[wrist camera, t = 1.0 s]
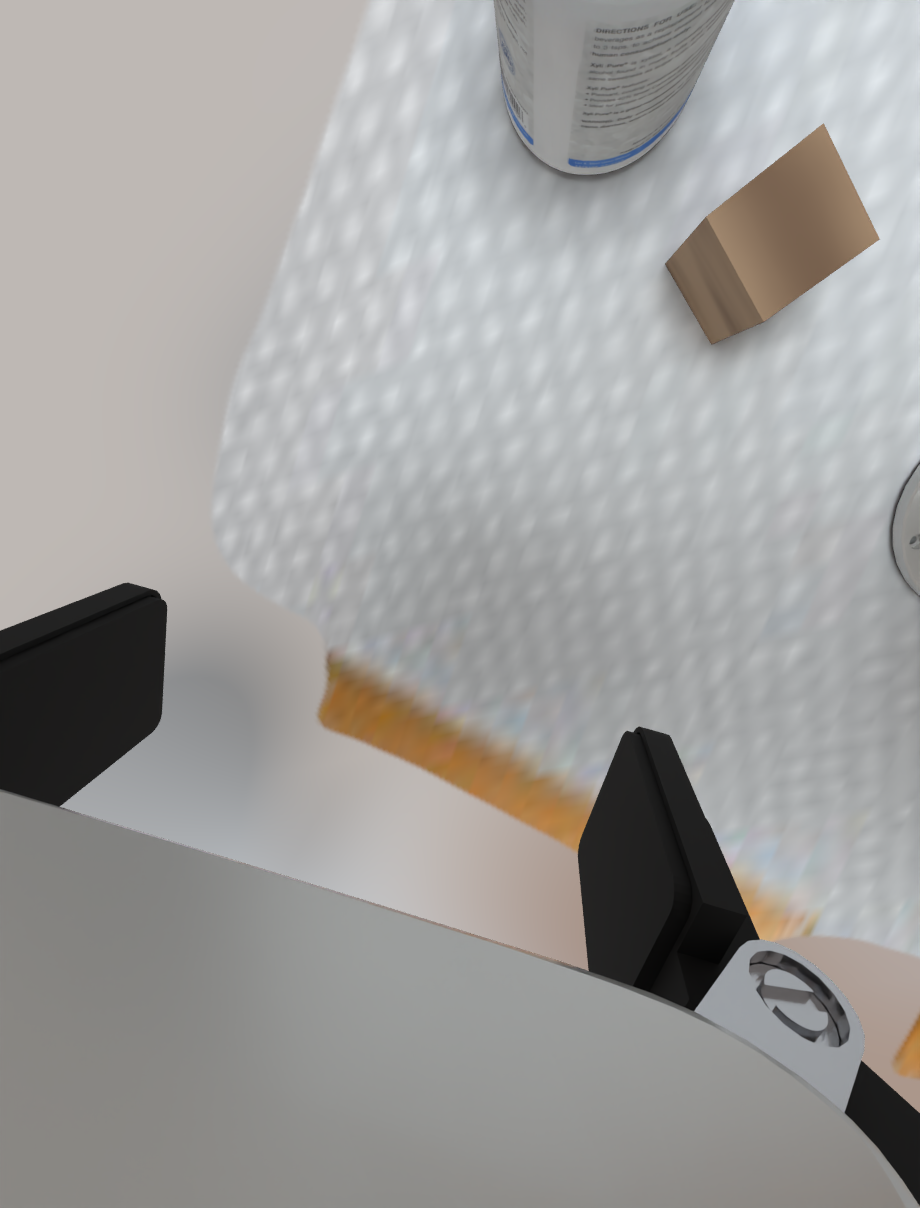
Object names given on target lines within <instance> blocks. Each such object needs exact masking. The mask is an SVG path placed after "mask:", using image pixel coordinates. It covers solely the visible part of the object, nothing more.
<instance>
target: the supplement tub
mask: <svg viewBox="0 0 920 1208" xmlns="http://www.w3.org/2000/svg"><path fill="white" fill-rule="evenodd" d="M733 2H734V0H494V7H495V17H496V27H497V37H498V46H499V57H500V67H501V77H502V88H503V95H504V100H505V103H506V107H507V110H508V113H509V116H510V118H511V121H512V123H513V125H514V127H515V129H516V131H517V133H518V135H519V136H520V138H521V139H522V141H523V142H524V143H525V145H526V146H527V147H528V148H529V149H530V151H531V152H532V153H533V154H535V155H536V156H537V157H538V158H539V159H540V160H542V161H543V162H545V163H546V164H548V165H549V166H551V167H553V168H555V169H558V170H560V171H563V172H567V173H571V174H580V175H592V174H602V173H607V172H610V171H614V170H617V169H620V168H622V167H624V166H627V165H628V164H630V163H632V162H634V161H635V160H637V159H638V158H640V157H641V156H643V155H644V154H646V153H647V152H648V151H649V150H650V149H651V148H653V147H654V146H655V145H656V144H657V143H658V142H659V141H660V140H661V138H662V137H663V136H664V135H665V134H666V133H667V132H668V130H669V129H670V128H671V127H672V125H673V124H674V122H675V121H676V120H677V118H678V117H679V115H680V114H681V112H682V110H683V108H684V106H685V104H686V102H687V100H688V98H689V96H690V94H691V92H692V90H693V88H694V86H695V84H696V82H697V79H698V77H699V75H700V73H701V71H702V69H703V67H704V64H705V62H706V60H707V58H708V56H709V54H710V51H711V49H712V47H713V45H714V43H715V41H716V39H717V37H718V35H719V33H720V30H721V28H722V26H723V24H724V22H725V20H726V17H727V15H728V13H729V11H730V9H731V7H732V5H733Z"/></svg>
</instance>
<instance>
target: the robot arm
mask: <svg viewBox="0 0 920 1208" xmlns="http://www.w3.org/2000/svg"><path fill="white" fill-rule="evenodd" d="M893 549H894V554H895V558H896V562H897V565H898V567H899V569H900V571H901V573H902V575H903V577H904V579H905V581H906V582H907V583H908V584H909V585H910V586H911V588H912V589H913V590H914V591H915V592H916V593H917V594H918V595H919V596H920V465H919V466H918V467H917V469H916V470H915V472H914V474H913V475H912V477H911V478H910V480H909V481H908V483H907V485H906V486H905V489H904V491H903V493H902V496H901V498H900V501H899V503H898V506H897V509H896V514H895V519H894V524H893ZM166 622H167V605H166V602H165V601H164V600H161V596H160V594H159V593H158V592H157V591H155V590H152V589H149V588H145V587H141V586H138V585H134V584H130V583H123V584H121V585H118V586H115V587H113V588H110V589H108V590H105V591H102V592H100V593H97V594H95V595H92V596H89V597H87V598H84V599H82V600H79V601H76V602H74V603H71V604H69V605H66V606H64V607H61V608H58V609H56V610H53V611H50V612H48V613H45V614H42V615H40V616H38V617H35V618H32V619H30V620H27V621H24V622H22V623H19V624H16V625H14V626H11V627H9V628H6V629H4V630H1V631H0V1208H920V1113H919V1112H918V1111H917V1110H915V1109H914V1108H913V1107H912V1106H911V1105H910V1104H909V1103H908V1102H907V1101H906V1100H904V1099H903V1098H902V1097H901V1096H900V1095H899V1094H898V1093H897V1092H896V1091H894V1090H893V1089H892V1088H891V1087H890V1086H889V1085H888V1084H887V1083H886V1082H885V1081H883V1080H882V1079H881V1078H880V1077H879V1076H878V1075H877V1074H876V1073H875V1072H873V1071H872V1070H871V1069H870V1068H869V1067H868V1066H867V1065H866V1064H865V1063H864V1062H862V1061H861V1059H862V1056H863V1053H864V1040H865V1039H864V1038H865V1035H864V1032H863V1029H862V1026H861V1023H860V1021H859V1018H858V1016H857V1014H856V1013H855V1011H854V1009H853V1008H852V1006H851V1004H850V1003H849V1001H848V999H847V998H846V997H845V995H844V994H843V993H842V992H841V991H840V990H839V988H838V987H837V986H836V985H835V984H834V983H833V981H832V980H831V979H829V978H828V977H827V976H826V975H825V974H824V973H823V972H822V971H821V970H820V969H818V968H817V967H816V966H815V965H814V964H813V963H811V962H810V961H808V960H806V959H805V958H804V957H802V956H801V955H799V954H798V953H796V952H795V951H793V950H791V949H789V948H786V947H784V946H782V945H780V944H778V943H774V942H770V941H766V940H760V939H759V937H758V934H757V932H756V930H755V927H754V925H753V923H752V921H751V918H750V916H749V914H748V911H747V909H746V907H745V904H744V902H743V900H742V897H741V895H740V893H739V891H738V888H737V886H736V884H735V881H734V879H733V877H732V874H731V872H730V870H729V867H728V865H727V863H726V861H725V858H724V856H723V854H722V851H721V849H720V847H719V844H718V842H717V840H716V837H715V835H714V833H713V831H712V828H711V826H710V824H709V822H708V821H707V819H706V818H705V816H704V814H703V811H702V809H701V807H700V804H699V802H698V800H697V797H696V795H695V793H694V790H693V788H692V786H691V783H690V781H689V779H688V776H687V774H686V772H685V769H684V767H683V765H682V762H681V760H680V758H679V755H678V753H677V751H676V748H675V746H674V744H673V741H672V739H671V737H670V736H669V735H667V734H664V733H660V732H657V731H653V730H650V729H646V728H642V727H638V728H636V729H635V731H634V732H629V731H626V732H625V733H624V734H623V736H622V738H621V741H620V743H619V746H618V748H617V750H616V753H615V755H614V758H613V760H612V763H611V765H610V768H609V770H608V773H607V775H606V778H605V780H604V782H603V785H602V787H601V790H600V792H599V795H598V797H597V800H596V802H595V805H594V807H593V810H592V812H591V814H590V817H589V819H588V822H587V824H586V827H585V829H584V832H583V834H582V837H581V840H580V844H579V849H578V863H579V874H580V884H581V895H582V904H583V916H584V926H585V937H586V947H587V958H588V968H589V971H587V970H584V969H581V968H578V967H575V966H572V965H570V964H567V963H564V962H561V961H558V960H555V959H551V958H548V957H545V956H542V955H539V954H536V953H532V952H529V951H526V950H523V949H520V948H516V947H513V946H510V945H507V944H504V943H500V942H497V941H494V940H491V939H487V938H484V937H481V936H478V935H474V934H471V933H468V932H465V931H462V930H459V929H455V928H452V927H449V926H446V925H443V924H439V923H436V922H433V921H430V920H427V919H423V918H420V917H417V916H414V915H410V914H407V913H404V912H401V911H398V910H395V909H391V908H388V907H385V906H381V905H379V904H375V903H372V902H369V901H366V900H362V899H359V898H356V897H352V896H349V895H346V894H343V893H340V892H336V891H333V890H330V889H327V888H324V887H320V886H317V885H313V884H311V883H307V882H304V881H301V880H298V879H294V878H291V877H288V876H285V875H281V874H278V873H275V872H272V871H268V870H265V869H262V868H258V867H255V866H252V865H249V864H246V863H242V862H239V861H235V860H233V859H229V858H226V857H223V856H219V855H216V854H213V853H210V852H206V851H203V850H199V849H196V848H193V847H190V846H186V845H183V844H180V843H177V842H173V841H170V840H167V839H164V838H160V837H157V836H154V835H150V834H147V833H144V832H141V831H137V830H134V829H131V828H127V827H124V826H121V825H118V824H114V823H111V822H107V821H104V820H101V819H98V818H94V817H91V816H88V815H85V814H81V813H78V812H75V811H71V810H68V809H65V808H61V807H60V806H61V805H62V804H63V803H64V802H66V801H67V800H68V799H70V798H71V797H72V796H73V795H75V794H76V793H77V792H78V791H79V790H81V789H82V788H83V787H85V786H86V785H87V784H88V783H90V782H91V781H92V780H93V779H95V778H96V777H97V776H98V775H99V774H101V773H102V772H103V771H105V770H106V769H107V768H108V767H110V766H111V765H112V764H113V763H115V762H116V761H117V760H118V759H119V758H121V757H122V756H123V755H125V754H126V753H127V752H128V751H129V750H131V749H132V748H133V747H134V746H136V745H137V744H138V743H139V742H141V741H142V740H143V739H145V738H146V737H147V736H148V735H150V734H151V733H152V732H153V731H154V730H155V728H156V727H157V726H158V724H159V722H160V719H161V715H162V700H163V698H162V697H163V681H164V661H165V642H166V640H165V639H166Z"/></svg>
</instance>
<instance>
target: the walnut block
mask: <svg viewBox="0 0 920 1208" xmlns="http://www.w3.org/2000/svg"><path fill="white" fill-rule="evenodd" d="M878 240H879V237H878V235H877V233H876V231H875V229H874V227H873V225H872V222H871V220H870V218H869V216H868V214H867V212H866V210H865V208H864V206H863V204H862V202H861V200H860V198H859V196H858V194H857V191H856V189H855V187H854V185H853V183H852V181H851V179H850V177H849V175H848V173H847V171H846V169H845V167H844V165H843V162H842V160H841V158H840V156H839V154H838V152H837V150H836V148H835V146H834V144H833V142H832V140H831V138H830V136H829V134H828V131H827V129H826V127H825V125H824V123H823V124H822V125H821V126H820V127H818V128H817V129H816V130H815V131H813V132H812V133H811V134H810V135H808V136H807V137H806V138H805V139H803V140H802V141H801V142H800V143H798V144H797V145H796V146H794V147H793V148H792V149H791V150H789V151H788V152H787V153H786V154H784V155H783V156H782V157H781V158H779V159H778V160H777V161H776V162H774V163H773V164H772V165H771V166H769V167H768V168H767V169H766V170H764V171H763V172H762V173H761V174H759V175H758V176H757V177H755V178H754V179H753V180H752V181H750V182H749V183H748V184H747V185H745V186H744V187H743V188H742V189H740V190H739V191H738V192H737V193H735V194H734V195H733V196H732V197H730V198H729V199H728V200H727V201H725V202H724V203H723V204H722V205H720V206H719V207H718V208H716V209H715V210H714V211H713V212H711V213H710V214H709V215H708V216H706V217H705V219H704V220H703V221H702V222H701V223H700V224H699V226H698V227H697V228H696V229H695V230H694V231H693V232H692V234H691V235H690V236H689V237H688V238H687V239H686V240H685V242H684V243H683V244H682V245H681V246H680V247H679V249H678V250H677V251H676V252H675V253H674V254H673V255H672V257H671V258H670V259H669V260H668V261H667V262H666V263H665V265H666V266H667V268H668V270H669V272H670V273H671V275H672V277H673V279H674V280H675V282H676V284H677V286H678V287H679V289H680V291H681V293H682V294H683V296H684V298H685V300H686V301H687V303H688V305H689V307H690V308H691V310H692V312H693V314H694V315H695V317H696V319H697V321H698V322H699V324H700V326H701V328H702V329H703V331H704V333H705V335H706V336H707V338H708V340H709V342H710V343H711V345H712V344H714V343H716V342H718V341H721V340H723V339H725V338H728V337H730V336H732V335H735V334H737V333H739V332H742V331H744V330H746V329H749V328H751V327H753V326H756V325H758V324H760V323H762V322H764V321H766V320H767V319H769V318H770V317H771V316H773V315H774V314H776V313H777V312H778V311H780V310H781V309H783V308H784V307H785V306H787V305H788V304H790V303H791V302H792V301H794V300H795V299H797V298H798V297H799V296H801V295H802V294H804V293H805V292H806V291H808V290H809V289H811V288H812V287H813V286H815V285H816V284H818V283H819V282H820V281H822V280H823V279H825V278H826V277H827V276H829V275H830V274H832V273H833V272H834V271H836V270H837V269H839V268H840V267H841V266H843V265H844V264H846V263H847V262H848V261H850V260H851V259H853V258H854V257H855V256H857V255H858V254H860V253H861V252H862V251H864V250H865V249H867V248H868V247H870V246H871V245H872V244H874V243H875V242H877V241H878Z"/></svg>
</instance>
